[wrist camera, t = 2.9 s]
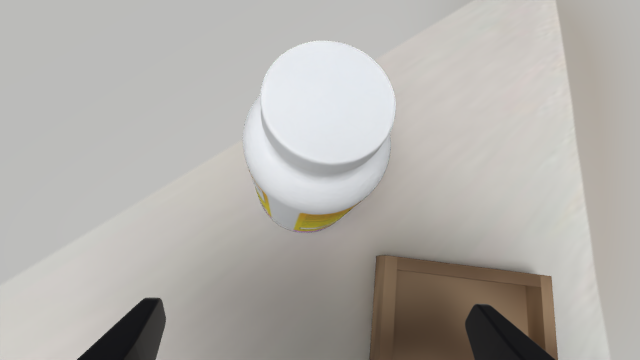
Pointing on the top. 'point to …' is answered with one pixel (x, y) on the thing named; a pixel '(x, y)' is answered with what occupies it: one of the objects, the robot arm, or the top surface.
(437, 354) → the walnut tray
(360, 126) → the supplement bottle
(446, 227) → the top surface
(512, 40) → the top surface
